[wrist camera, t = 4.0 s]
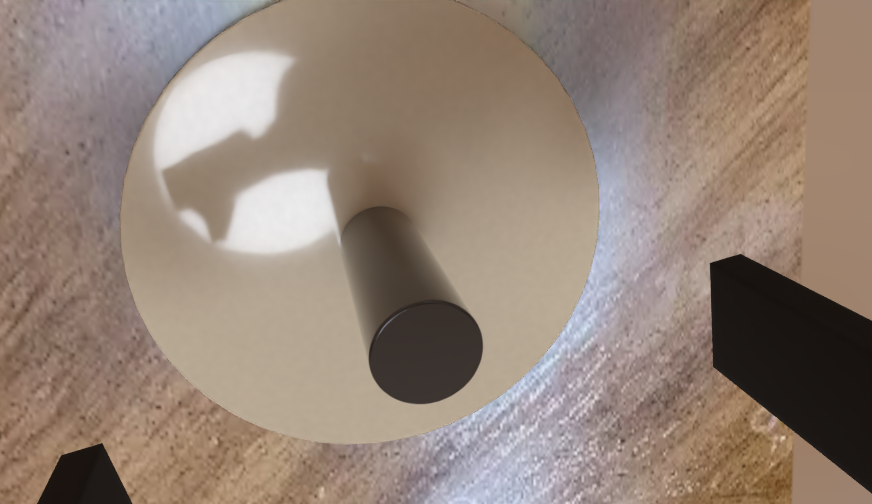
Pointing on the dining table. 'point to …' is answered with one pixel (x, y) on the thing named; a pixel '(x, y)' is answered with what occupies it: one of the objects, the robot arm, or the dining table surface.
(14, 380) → the dining table surface
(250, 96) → the lid
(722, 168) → the dining table surface
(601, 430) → the dining table surface
